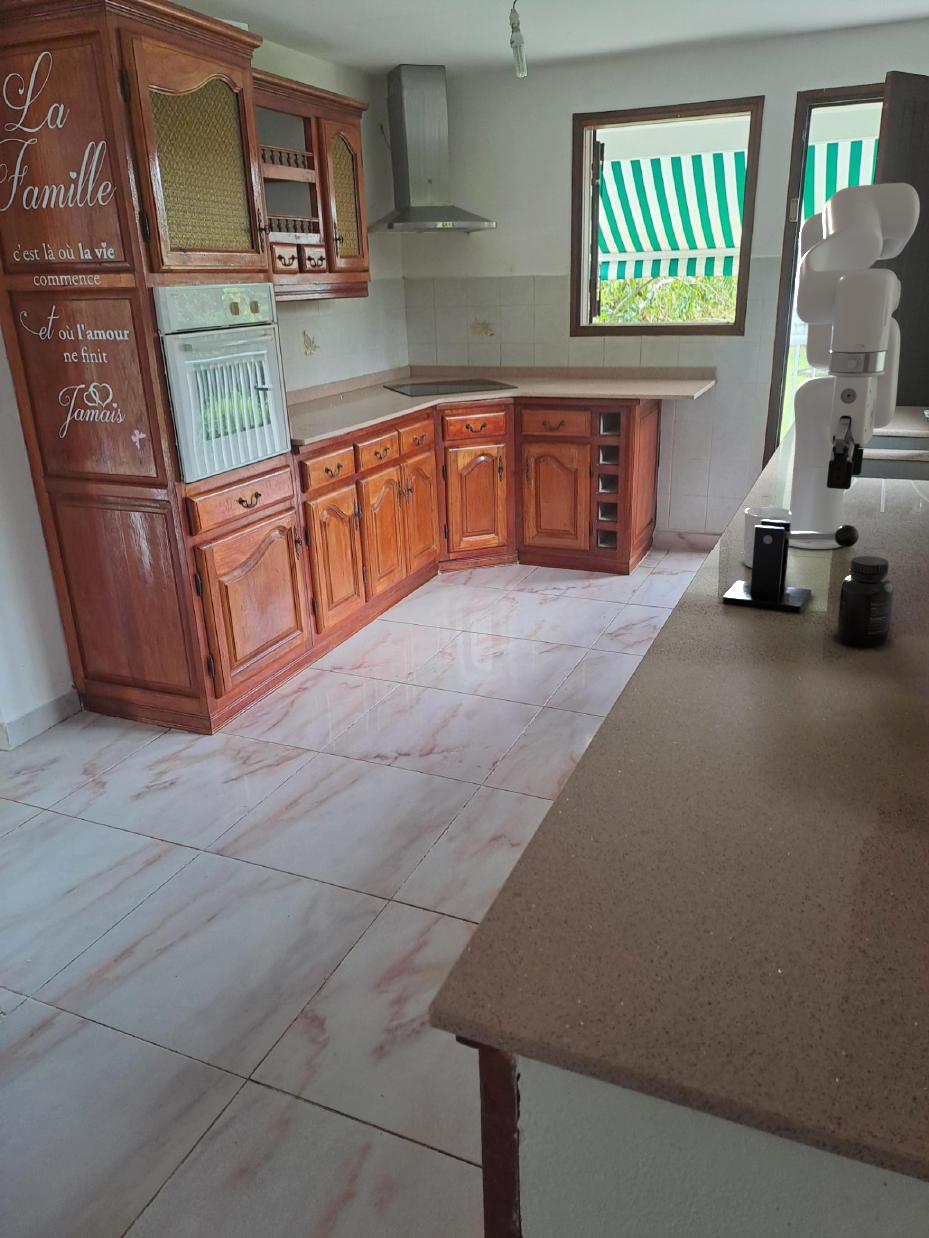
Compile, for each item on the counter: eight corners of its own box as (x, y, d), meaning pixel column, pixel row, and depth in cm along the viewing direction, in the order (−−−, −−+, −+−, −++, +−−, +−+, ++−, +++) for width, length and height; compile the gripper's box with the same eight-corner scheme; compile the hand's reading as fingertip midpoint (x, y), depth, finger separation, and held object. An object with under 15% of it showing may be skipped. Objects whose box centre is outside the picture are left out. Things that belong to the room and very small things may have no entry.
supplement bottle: (885, 633, 129) (895, 554, 124) (889, 651, 123) (900, 569, 118) (834, 629, 131) (843, 552, 127) (836, 646, 125) (845, 566, 121)
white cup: (789, 571, 157) (793, 517, 154) (743, 570, 159) (747, 516, 155) (783, 558, 165) (787, 506, 161) (739, 558, 166) (742, 506, 163)
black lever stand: (810, 596, 145) (818, 520, 140) (799, 613, 138) (807, 534, 133) (737, 587, 151) (742, 514, 146) (722, 603, 144) (727, 527, 139)
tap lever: (859, 544, 136) (860, 522, 135) (856, 550, 133) (857, 528, 132) (765, 542, 143) (765, 522, 142) (760, 547, 140) (760, 527, 139)
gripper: (877, 371, 118) (862, 496, 124) (893, 357, 131) (878, 471, 138) (817, 370, 121) (806, 492, 128) (839, 357, 135) (828, 467, 141)
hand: (843, 481), depth 133 cm, fingers open, 9 cm apart
